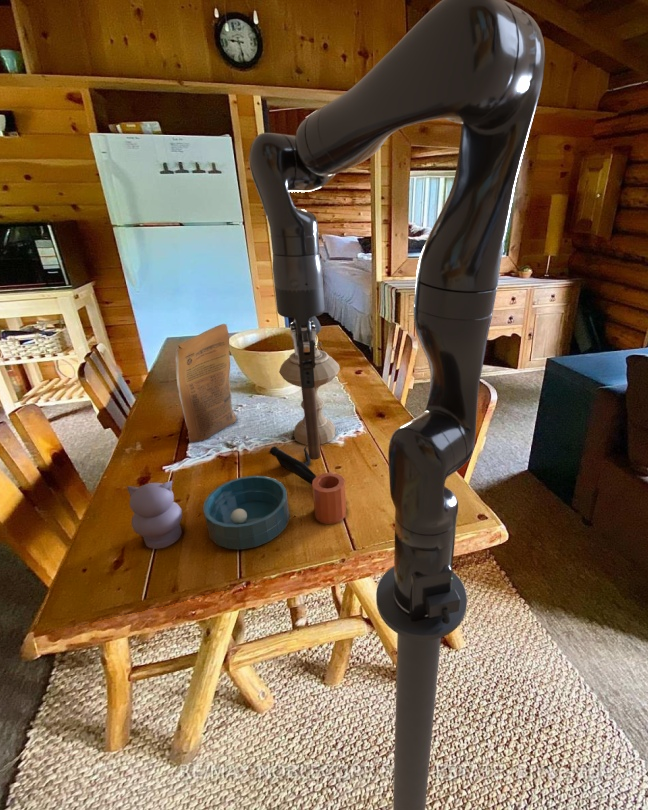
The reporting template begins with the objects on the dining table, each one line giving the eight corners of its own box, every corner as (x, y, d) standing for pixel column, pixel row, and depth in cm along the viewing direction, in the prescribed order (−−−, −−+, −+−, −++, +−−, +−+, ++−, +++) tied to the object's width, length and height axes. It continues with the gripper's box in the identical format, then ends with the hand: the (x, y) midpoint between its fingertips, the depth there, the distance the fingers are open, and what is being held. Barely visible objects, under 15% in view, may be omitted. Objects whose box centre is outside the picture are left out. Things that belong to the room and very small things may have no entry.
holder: (348, 521, 89) (347, 489, 85) (316, 526, 87) (313, 494, 84) (343, 501, 94) (342, 470, 91) (313, 506, 93) (310, 475, 89)
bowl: (291, 543, 83) (288, 518, 80) (204, 558, 80) (198, 533, 77) (287, 493, 96) (285, 471, 94) (213, 504, 93) (208, 481, 90)
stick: (321, 458, 83) (312, 359, 74) (309, 460, 82) (298, 360, 73) (320, 452, 85) (310, 354, 76) (308, 454, 84) (297, 355, 75)
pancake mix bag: (250, 417, 127) (236, 323, 115) (198, 449, 112) (175, 344, 99) (232, 412, 130) (216, 319, 117) (179, 442, 115) (154, 339, 102)
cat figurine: (132, 555, 80) (114, 503, 74) (144, 526, 87) (128, 476, 81) (183, 548, 82) (169, 496, 76) (190, 519, 89) (178, 470, 83)
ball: (232, 528, 86) (243, 525, 85) (225, 515, 86) (236, 511, 84) (241, 520, 89) (252, 517, 88) (234, 507, 88) (245, 504, 87)
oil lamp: (354, 434, 120) (349, 285, 102) (309, 456, 110) (295, 295, 92) (319, 416, 129) (309, 276, 111) (275, 434, 119) (256, 284, 101)
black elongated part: (364, 466, 94) (291, 422, 108) (335, 493, 90) (263, 444, 104) (371, 489, 100) (301, 444, 113) (344, 516, 95) (274, 466, 109)
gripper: (328, 291, 64) (334, 399, 71) (318, 274, 76) (324, 368, 83) (275, 294, 62) (287, 404, 70) (273, 276, 74) (283, 371, 82)
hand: (307, 384), depth 77 cm, fingers closed on stick, 2 cm apart
